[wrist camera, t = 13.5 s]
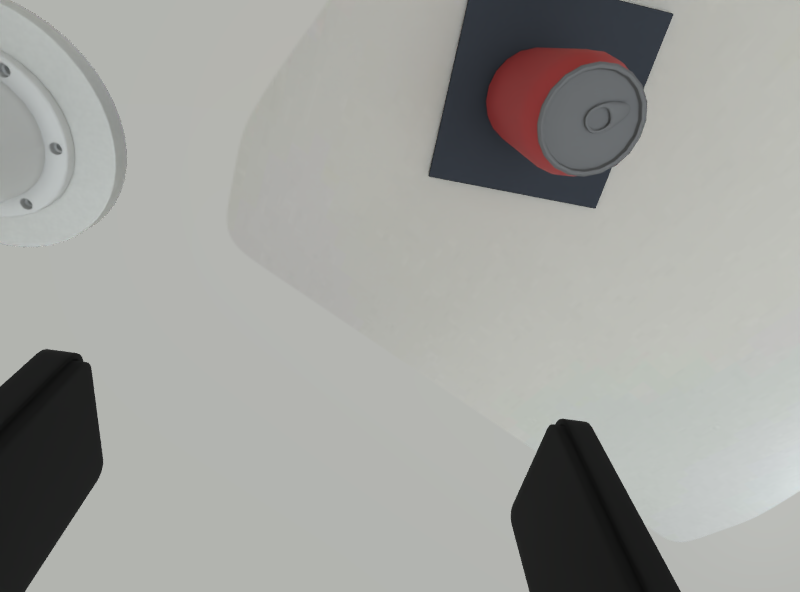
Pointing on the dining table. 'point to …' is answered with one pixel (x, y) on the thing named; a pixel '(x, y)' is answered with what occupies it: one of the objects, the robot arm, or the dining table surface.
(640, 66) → the mat
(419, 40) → the dining table surface
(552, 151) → the beer can
